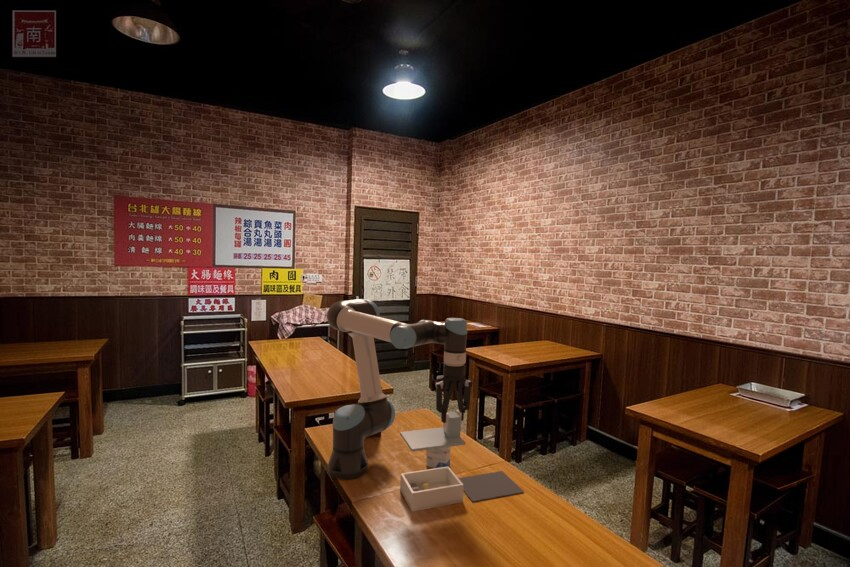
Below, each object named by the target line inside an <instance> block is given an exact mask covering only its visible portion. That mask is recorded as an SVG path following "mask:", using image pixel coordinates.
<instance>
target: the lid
mask: <svg viewBox="0 0 850 567" xmlns="http://www.w3.org/2000/svg"><path fill="white" fill-rule="evenodd" d="M447 413H448V414H449V425H448V433H446V432H445V431H444V430H443V426H440V427H434V428H433V427H432V428H425V429H424V428H423V429H416V430H414V429H413V430H405V431H400V432H399V435H400V436H401V437H402V440H403V441H404V442H405V443H406V445H407V447H408V448H409V450H410V451H411V452H420V451H426V450H429V449H435V450H436V451H437V450H439V448H444V447H450V448H451V447H457V446H465V445H466V441H465V440H464V439H463V438H462V437H461V431H460V429H461V430H462V421H461V417H460V416H459V415H458V414H457V413H456V411H449V412H448V411H447Z"/></svg>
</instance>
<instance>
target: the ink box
mask: <svg viewBox="0 0 850 567" xmlns="http://www.w3.org/2000/svg"><path fill="white" fill-rule="evenodd" d="M425 451H426V460H425V463H426V464H425V465H426V467H429V468H431V469H434V468H441V467H447V466H449V467H450V466H451V447H444V448H439V450H437V451H436V450H435V449H429V450H425Z"/></svg>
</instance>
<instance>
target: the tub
mask: <svg viewBox="0 0 850 567" xmlns="http://www.w3.org/2000/svg"><path fill="white" fill-rule="evenodd" d="M458 478H459V477H458V476H457V474H456V473H454V471H453V470H452V468H450V466H447V467H441V468H428V469H423V470H422V469H421V470H416V471H408V472H403V473H400V483H399V486H400V487H399V488H400V494H402V496H403V498H404V500H405V502H406V504H407V506H408V507H409V509H410V512H417V511H423V510H429V509H434V508H440V507H444V506H450V505H455V504H459V503H460V504H461V503H463V502H464V491H463V487H464V485H463V483H462V482H461V481H460V480H459V479H458Z"/></svg>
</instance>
